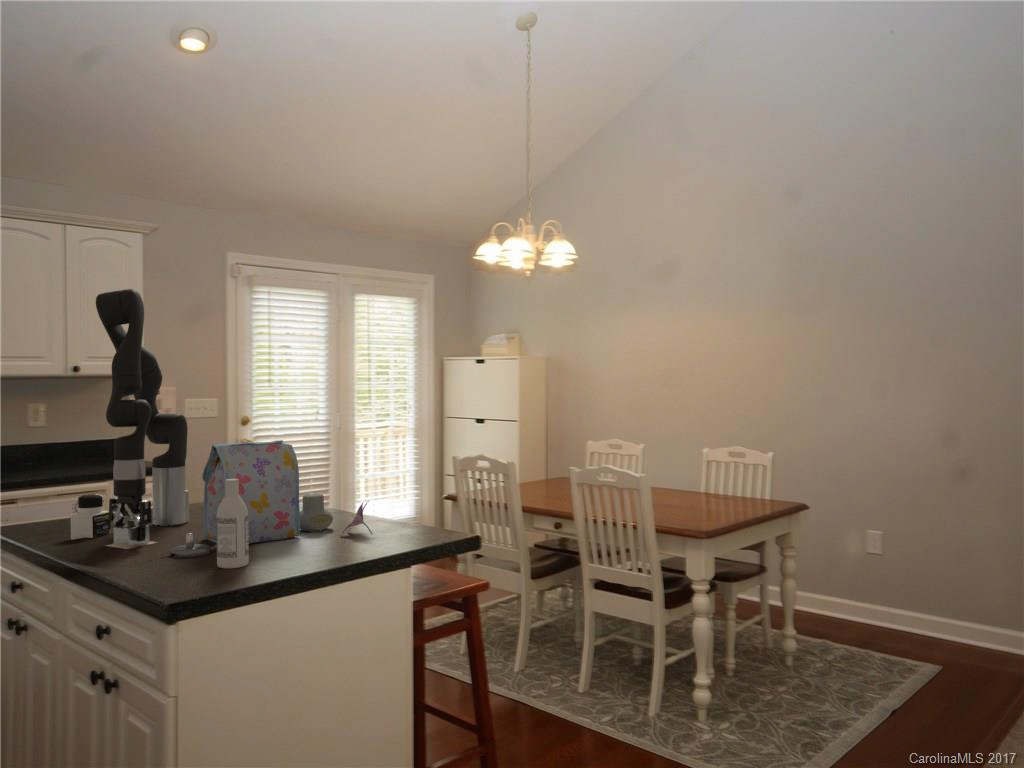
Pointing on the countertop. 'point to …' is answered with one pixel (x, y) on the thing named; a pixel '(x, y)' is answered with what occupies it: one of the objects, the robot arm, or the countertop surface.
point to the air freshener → (314, 514)
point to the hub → (189, 548)
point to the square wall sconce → (128, 536)
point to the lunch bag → (255, 488)
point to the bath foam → (232, 529)
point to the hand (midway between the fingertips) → (130, 539)
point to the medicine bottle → (90, 518)
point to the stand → (131, 525)
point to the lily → (358, 518)
